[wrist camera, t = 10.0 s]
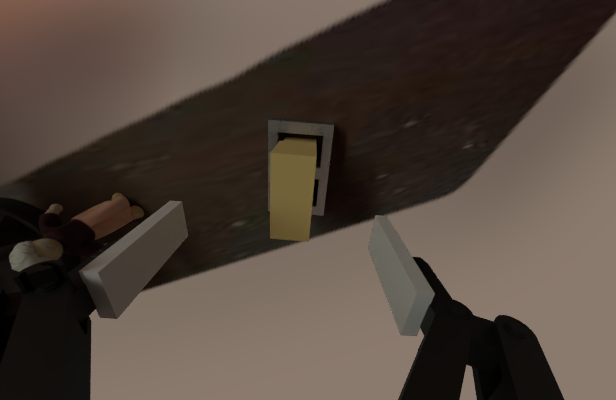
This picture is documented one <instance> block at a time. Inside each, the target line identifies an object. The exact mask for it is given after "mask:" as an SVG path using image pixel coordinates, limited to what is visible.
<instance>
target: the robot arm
mask: <svg viewBox="0 0 616 400" xmlns="http://www.w3.org/2000/svg"><path fill="white" fill-rule="evenodd" d="M42 214H44V213H43V212H41V211H40V210H38V209H36V208H34V207H32V206H30V205H27V204H25V203H22V202H19V201H16V200H12V199H6V198H0V400H90V376H91V375H90V373H91V320H90V317H89V315H90V314H91V313H92V312H93V311H94V310H95V309H96V310H97V312H98V314H99V316H100V318H114V319H117V318H118V317H119V316H120V315H121V314H122V313H123V311H124V310H125V309H126V308H127V306H129V304H130V303H131V302H132V301H133V300H134V298H135V297H136V296H137V295H138V294H139V293H140V291H141V290H142V289H143V288H144V287H145V286H146V284H147V283H148V282H149V281H150V280H151V279H152V277H153V276H154V275H155V274H156V273H157V272H158V270H159V269H160V268H161V267H162V266H163V265H164V263H165V262H166V261H167V260H168V259H169V258H170V256H171V255H172V254H173V253H174V252H175V251H176V249H177V248H178V247H179V246H180V245H181V244H182V242H183V241H184V240H185V239H186V238H187V237H188V232H187V227H186V221H185V216H184V210H183V205H182V202H181V201H169V202H168V203H167V204H165V205H164V206H163V207H162V208H160V209H159V210H158V211H156V212H155V213H154V214H152V215H151V216H150V217H149V218H147V219H146V220H145V221H143V222H142V223H141V224H139V225H138V226H137V227H136V228H134V229H133V230H132V231H130V232H129V233H128V234H126V235H125V236H124V237H123V238H118V239H116V240H114V241H112V242H110V243H108V244H106V245H105V246H103V247H102V248H101V249H99V251H97V252H95V253H94V254H93V255H92V256H91V257H89V258H87V259H86V260H85V261H83V262H82V263H81V264H79V265H78V263H79V256H70V255H67V254H65V253H62V255H61V257H60V258H59V259H58V260H48V261H43V262H39V263H36V264H33V265H31V266H29V267H27V268H25V269H23V270H21V271H20V272H18V271H16V270H13V269H11V268H12V266H11V263H10V262H9V261H10V259H9V255H10V253H11V252H12V251H13V249H14V247H15V246H16V245H17V244H18V243H21V242H25V241H32V242H33V241H36V240H39V239H44V237H43V235H42V233H41V231H40V228H39V217H40V215H42ZM368 249H369V252H370V254H371V257H372V260H373V262H374V265H375V268H376V271H377V273H378V276H379V278H380V281H381V284H382V287H383V289H384V292H385V295H386V297H387V300H388V303H389V305H390V308H391V311H392V313H393V316H394V319H395V321H396V324H397V327H398V329H399V332H400V334H401V335H407V336H417V334H418V332H419V329H420V328H421V330H422V332H423V334H424V338H423V340H422V342H421V345H420V347H419V349H418V352H417V355H416V357H415V360H414V362H413V365H412V367H411V369H410V372H409V375H408V377H407V379H406V382H405V384H404V387H403V389H402V391H401V394H400V396H399V399H398V400H459V398H460V393H461V388H462V383H463V378H464V373H465V368H466V365H469V366H472V369H473V376H474V382H475V390H476V396H477V400H564V398H563V396H562V393H561V391H560V389H559V387H558V384H557V382H556V380H555V378H554V375H553V373H552V371H551V369H550V366H549V364H548V362H547V360H546V357H545V355H544V353H543V351H542V348H541V346H540V344H539V342H538V339H537V337H536V336H535V334H534V333H533V332H532V330H530V329H529V328H528V327H527V326H526V325H525V324H523V323H522V322H520V321H519V320H517V319H515V318H512V317H510V316H506V315H499V316H497V317H496V318H495V320H494V322H493V321H490V320H487V319H483V318H480V317H477V316H474V315H473V314H472V312H471V311H470V310H469V309H468V308H467V307H466V306H465V305H463V304H462V303H460V302H458V301H456V300H452V298H451V296H450V295H449V294H448V292H447V291H446V289H445V288H444V287H443V285H442V284H441V282H440V281H439V279H438V278H437V276H436V275H435V273H434V272H433V270H432V269H431V267H430V266H429V265H428V263H426V262H425V261H424V260H423V259H421V258H420V257H412V256H411V254H410V253H409V251H408V249H407V248H406V246H405V245H404V243H403V241H402V240H401V238H400V237H399V235H398V233H397V232H396V230H395V229H394V227H393V226H392V224H391V222H390V221H389V219H388V217H387V216H379V215H376V216H375V220H374V224H373V229H372V233H371V237H370V242H369V246H368Z"/></svg>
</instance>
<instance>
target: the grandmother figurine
mask: <svg viewBox="0 0 616 400" xmlns="http://www.w3.org/2000/svg"><path fill="white" fill-rule="evenodd" d="M62 210H63V207H62V206H61V205H60V204H52V205H51V206H50V207H49V210H47V211H46V212H45V213H44V214H42V215H40V217H39V228H40V231H41V233H42V235H43V237H44V239H39V240H36V241H33V242H32V241H25V242H21V243H18V244H17V245H16V246H15V247H14V249H13V251H12V252H11V253H10V255H9V259H10V261H9V262H10V263H11V266H12V268H11V269H13V270H16V271H18V272H20V271H21V270H23V269H25V268H27V267H29V266H31V265H33V264H36V263H39V262H43V261H48V260H58V259H59V258H60V257H61V255H62V253H65V254H67V255H70V256H81V255H93V254H94V253H95V252H97V251H99V249H101V248H102V247H103V246H105V245H106V244H108V243H104V244H100V243H97V242H95V241H94V240H97V239H99V238H102V237H104V236H106V235H108V234H110V233H112V232H114V231H115V230H117V229H119V228H121V227H123V226H124V225H126V224H127V223H129V222H131V221H132V220H135V219H138V218H141V217H143V216H144V211H143V210H142V208H140V207H139V206H136V205H133V206H131V207H130V203H129V201H128V199H127V198H126V197H125V196H124V195H123V194H121V193H115V194H114V195H113V197H112V199H111V201H106V202H103V203H101V204H98V205H96V206H94V207H92V208H90V209H88V210H86V211H84V212H82V213H80V214H79V215H77V216H75V217H73V218H72V219H71V220H70V221H69V222H66V223H64V224H63V223H62V222H61V220H60V217H59V213H60V212H61V211H62Z"/></svg>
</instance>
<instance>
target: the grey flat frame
mask: <svg viewBox="0 0 616 400" xmlns="http://www.w3.org/2000/svg"><path fill="white" fill-rule="evenodd" d="M280 132H282V133H294V134H306V135H318V136H323V139H322V149H321V159H320V163H318V162H316V169H315V179H318V188H317V198H316V199H313V201H312V212H311V215H321V216H323V215H324V207H325V198H326V190H327V182H328V173H329V165H330V157H331V148H332V140H333V132H334V124H333V123H331V122H319V121H307V120H294V119H282V118H270V119H269V120H268V211H270V153H271V151H272V150H273V149H274V147H275V146H276V145H277V143H278V142H279V141H280Z"/></svg>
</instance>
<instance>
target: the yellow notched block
mask: <svg viewBox="0 0 616 400" xmlns="http://www.w3.org/2000/svg"><path fill="white" fill-rule="evenodd" d="M316 158H317V144H316V139H306V138H294V137H285V139H284V140H283V141H279V142H278V143H277V145H276V146H275V147H274V149H273V150H272V151H271V153H270V238H272V239H284V240H296V241H309V234H310V223H311V212H312V201H313V191H314V180H315V169H316Z"/></svg>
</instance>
